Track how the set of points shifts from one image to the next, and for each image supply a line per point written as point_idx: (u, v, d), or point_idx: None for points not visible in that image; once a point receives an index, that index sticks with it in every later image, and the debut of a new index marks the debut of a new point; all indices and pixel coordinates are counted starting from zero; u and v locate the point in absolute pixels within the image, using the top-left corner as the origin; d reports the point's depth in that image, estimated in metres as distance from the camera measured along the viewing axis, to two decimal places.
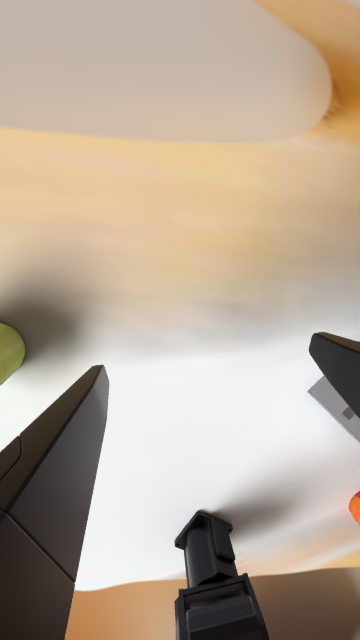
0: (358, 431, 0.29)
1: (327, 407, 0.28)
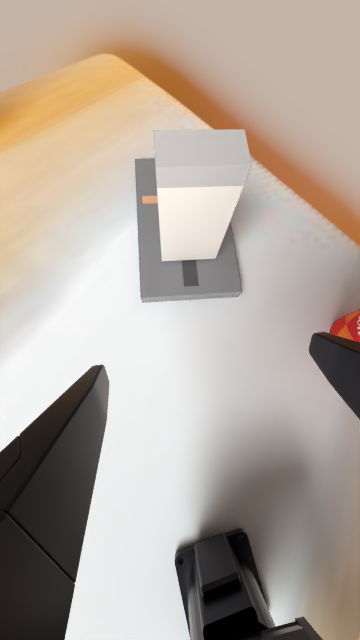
0: (223, 285, 0.24)
1: (163, 294, 0.23)
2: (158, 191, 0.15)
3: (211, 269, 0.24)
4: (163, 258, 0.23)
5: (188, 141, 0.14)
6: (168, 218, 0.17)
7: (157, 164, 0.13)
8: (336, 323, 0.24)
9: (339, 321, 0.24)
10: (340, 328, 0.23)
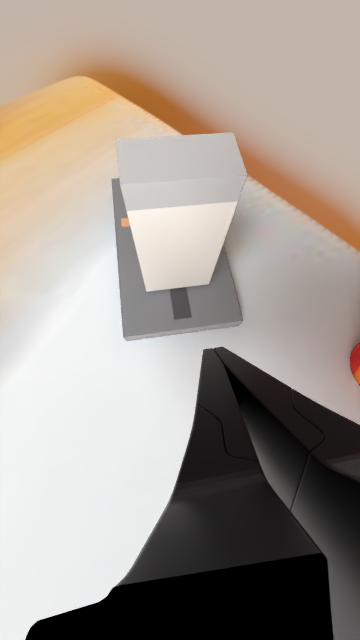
0: (220, 314, 0.20)
1: (150, 331, 0.19)
2: (129, 215, 0.11)
3: (205, 296, 0.21)
4: (147, 288, 0.20)
5: (162, 150, 0.10)
6: (146, 245, 0.14)
7: (122, 181, 0.10)
8: (356, 350, 0.20)
9: None
10: None
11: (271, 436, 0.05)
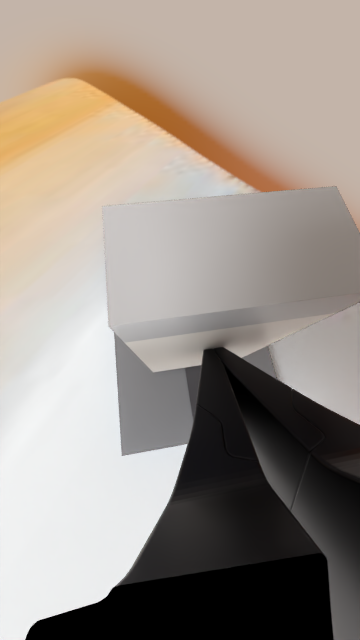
0: None
1: (160, 444, 0.14)
2: (129, 344, 0.06)
3: None
4: (155, 371, 0.14)
5: (200, 230, 0.05)
6: (158, 355, 0.08)
7: (113, 315, 0.04)
8: None
9: None
10: None
11: (271, 436, 0.05)
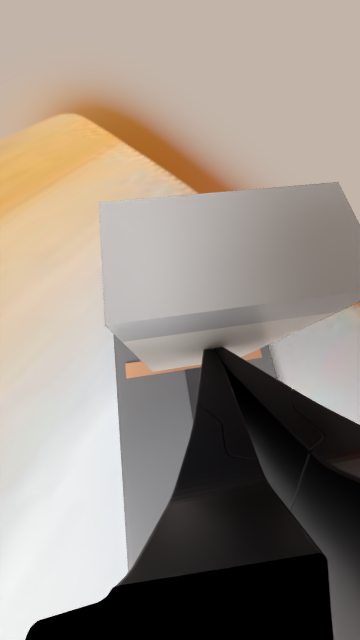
0: None
1: None
2: (127, 344, 0.06)
3: None
4: (154, 370, 0.14)
5: (198, 227, 0.05)
6: (157, 355, 0.08)
7: (110, 314, 0.04)
8: None
9: None
10: None
11: (271, 436, 0.05)
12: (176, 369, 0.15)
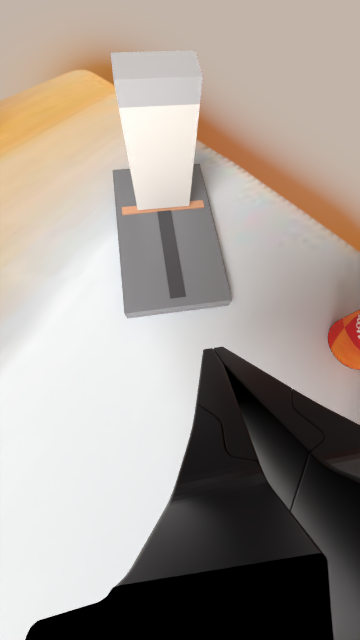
0: (211, 294, 0.22)
1: (148, 308, 0.21)
2: (120, 112, 0.16)
3: (198, 278, 0.23)
4: (138, 206, 0.24)
5: (143, 60, 0.15)
6: (135, 149, 0.18)
7: (115, 77, 0.14)
8: (334, 326, 0.23)
9: (337, 324, 0.22)
10: (338, 332, 0.21)
11: (271, 436, 0.05)
12: (152, 210, 0.25)
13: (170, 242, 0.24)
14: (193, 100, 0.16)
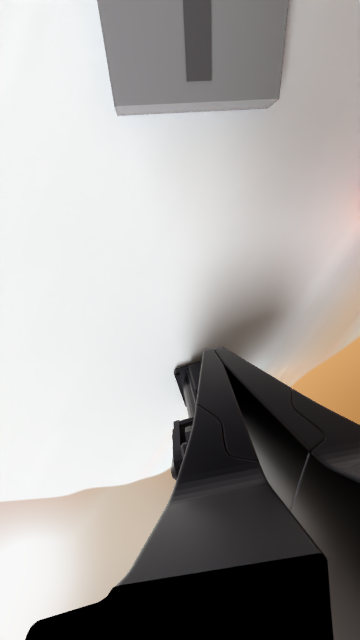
0: (252, 81, 0.14)
1: (151, 99, 0.14)
2: None
3: (237, 35, 0.13)
4: None
5: None
6: None
7: None
8: None
9: None
10: None
11: (271, 436, 0.05)
12: None
13: None
14: None
